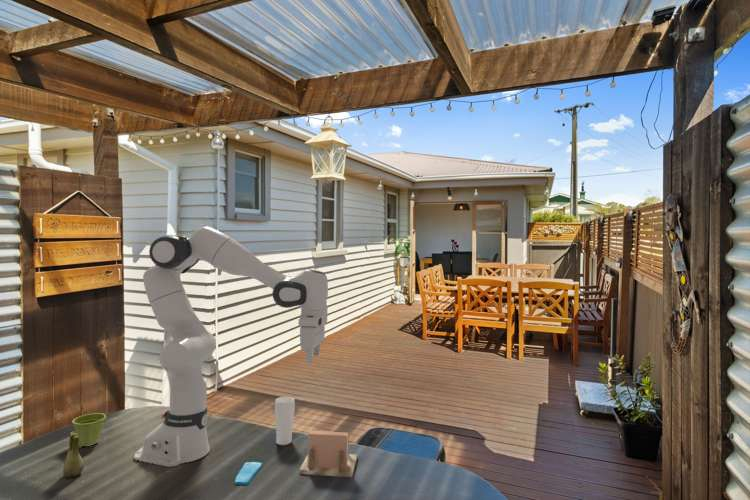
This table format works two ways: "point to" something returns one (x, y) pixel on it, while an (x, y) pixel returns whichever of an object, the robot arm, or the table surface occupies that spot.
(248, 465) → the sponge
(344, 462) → the ceramic tile
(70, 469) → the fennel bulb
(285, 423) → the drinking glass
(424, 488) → the table surface
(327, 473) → the slot rack
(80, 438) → the plant pot
